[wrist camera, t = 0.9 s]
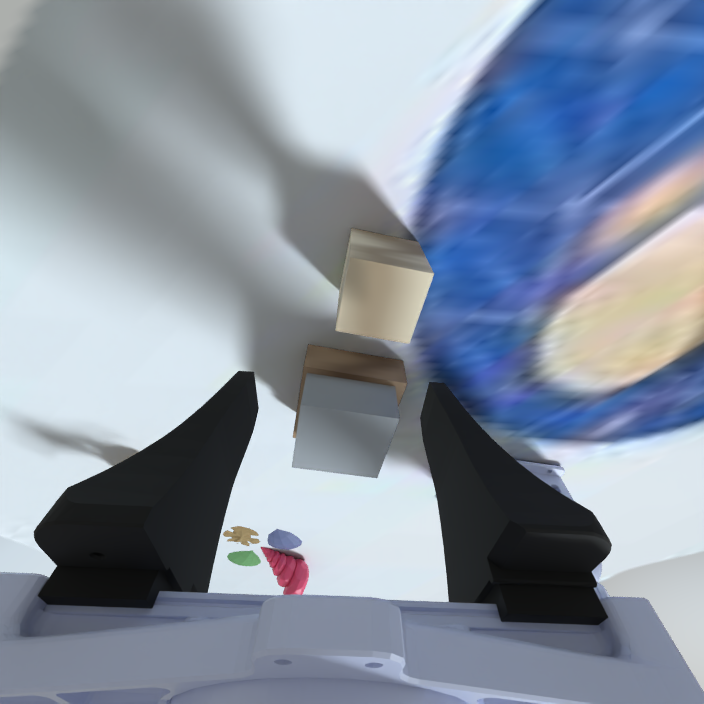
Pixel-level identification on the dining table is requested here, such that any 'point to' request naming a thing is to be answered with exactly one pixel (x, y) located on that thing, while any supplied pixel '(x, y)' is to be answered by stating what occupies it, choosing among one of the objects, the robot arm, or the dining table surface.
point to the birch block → (382, 286)
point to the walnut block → (352, 369)
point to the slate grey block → (345, 425)
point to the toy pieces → (273, 557)
